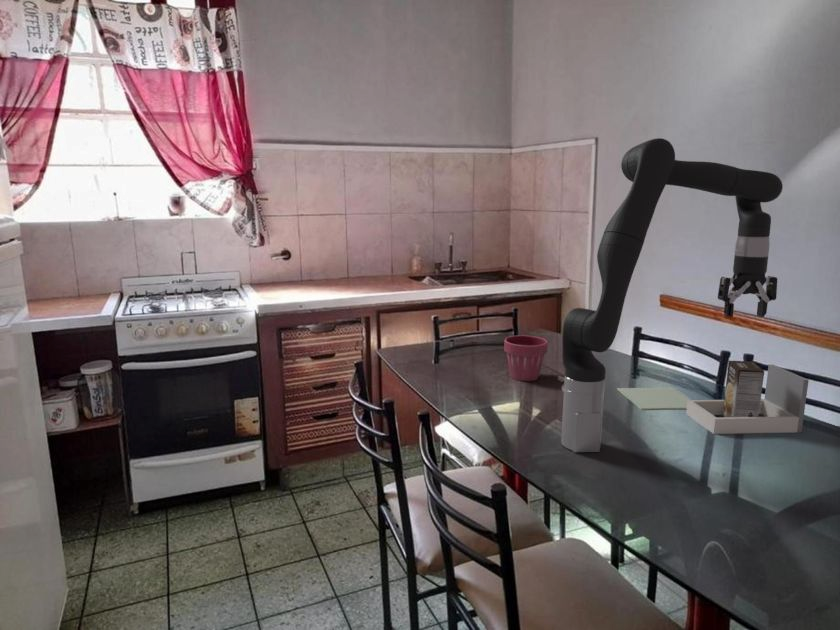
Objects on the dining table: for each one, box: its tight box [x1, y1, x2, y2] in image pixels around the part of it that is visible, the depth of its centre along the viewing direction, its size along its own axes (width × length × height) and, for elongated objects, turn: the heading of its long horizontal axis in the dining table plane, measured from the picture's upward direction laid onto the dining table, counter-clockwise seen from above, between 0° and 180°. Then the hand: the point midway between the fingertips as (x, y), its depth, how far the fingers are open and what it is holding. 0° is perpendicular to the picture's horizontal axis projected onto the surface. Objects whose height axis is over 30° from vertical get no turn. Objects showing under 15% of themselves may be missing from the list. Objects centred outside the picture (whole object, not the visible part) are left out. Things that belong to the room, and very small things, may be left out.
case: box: [685, 364, 810, 435], centre depth 156 cm, size 14×23×14 cm, turn 93°
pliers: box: [557, 375, 565, 393], centre depth 188 cm, size 10×2×15 cm
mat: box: [616, 386, 692, 411], centre depth 176 cm, size 18×18×1 cm
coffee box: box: [722, 360, 765, 417], centre depth 156 cm, size 9×6×16 cm
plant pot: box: [503, 334, 549, 382], centre depth 195 cm, size 14×14×13 cm
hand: (744, 316), depth 153 cm, fingers open, 8 cm apart
